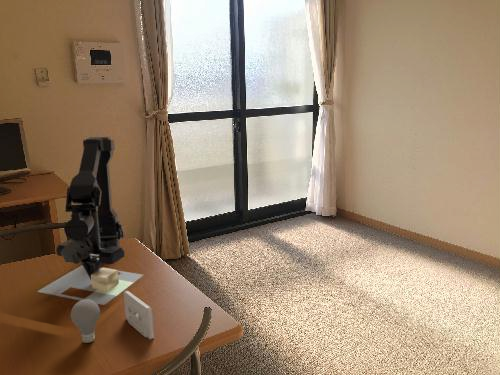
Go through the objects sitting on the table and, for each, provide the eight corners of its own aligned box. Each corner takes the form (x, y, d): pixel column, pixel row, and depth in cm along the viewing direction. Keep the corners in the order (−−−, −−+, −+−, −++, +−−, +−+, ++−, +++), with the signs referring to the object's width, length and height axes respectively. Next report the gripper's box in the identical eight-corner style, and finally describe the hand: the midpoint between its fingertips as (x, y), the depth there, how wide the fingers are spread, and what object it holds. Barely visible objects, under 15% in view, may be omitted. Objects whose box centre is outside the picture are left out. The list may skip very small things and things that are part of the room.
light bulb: (107, 333, 97) (103, 294, 94) (95, 350, 91) (90, 308, 89) (82, 332, 98) (77, 293, 95) (69, 348, 92) (63, 307, 89)
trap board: (83, 269, 130) (82, 264, 130) (144, 279, 123) (143, 274, 123) (37, 296, 114) (36, 291, 114) (104, 310, 107) (104, 305, 107)
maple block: (104, 280, 120) (103, 267, 119) (118, 283, 118) (117, 270, 117) (92, 288, 115) (90, 275, 114) (107, 291, 114) (105, 277, 113)
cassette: (156, 337, 95) (154, 307, 94) (149, 341, 94) (146, 310, 92) (130, 316, 104) (128, 288, 102) (124, 319, 103) (121, 291, 101)
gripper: (37, 232, 110) (44, 287, 114) (95, 241, 104) (101, 298, 107) (68, 220, 120) (74, 270, 124) (123, 227, 114) (127, 279, 118)
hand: (93, 279), depth 118 cm, fingers closed
